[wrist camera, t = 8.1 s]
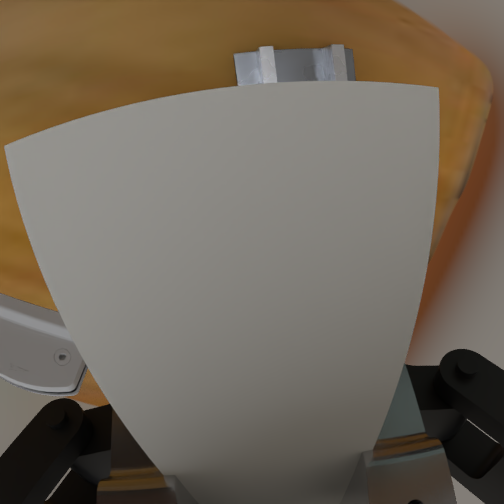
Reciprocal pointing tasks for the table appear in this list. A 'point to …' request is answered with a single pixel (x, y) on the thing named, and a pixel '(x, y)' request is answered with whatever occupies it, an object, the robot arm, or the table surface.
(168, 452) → the door panel
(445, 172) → the table surface
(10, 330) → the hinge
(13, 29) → the table surface
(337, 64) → the track
